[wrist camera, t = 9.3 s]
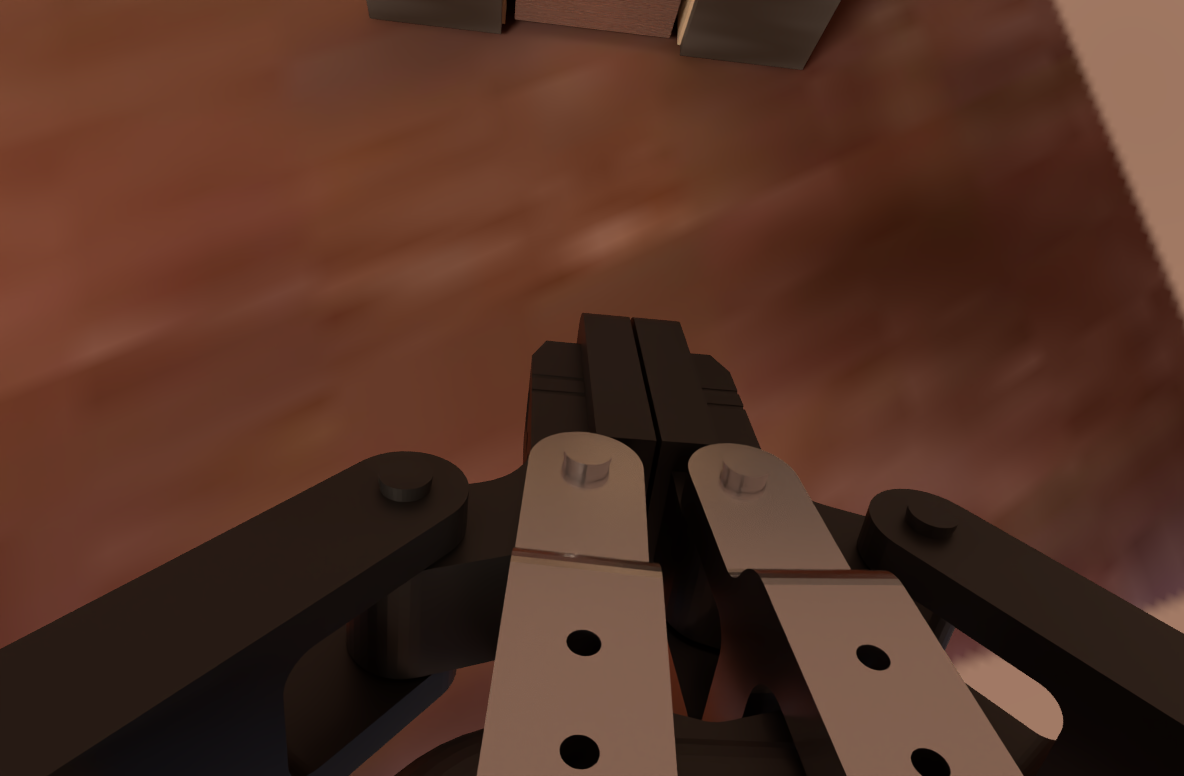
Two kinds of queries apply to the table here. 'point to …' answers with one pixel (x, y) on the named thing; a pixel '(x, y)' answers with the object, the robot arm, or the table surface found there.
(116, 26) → the table surface
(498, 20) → the socket block
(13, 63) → the table surface
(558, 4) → the peg
